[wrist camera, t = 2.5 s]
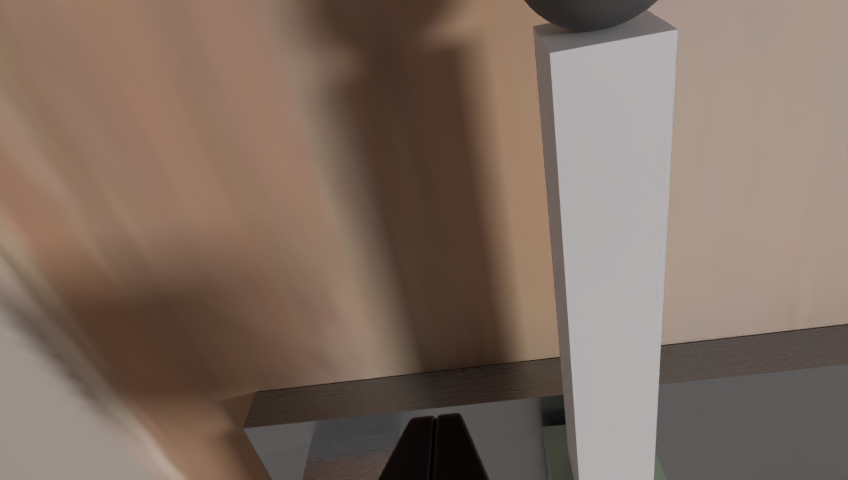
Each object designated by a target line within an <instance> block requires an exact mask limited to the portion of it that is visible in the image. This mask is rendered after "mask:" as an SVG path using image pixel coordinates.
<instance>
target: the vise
mask: <svg viewBox="0 0 848 480" xmlns="http://www.w3.org/2000/svg"><path fill="white" fill-rule="evenodd" d="M450 413H460V414H461V415H462V417H463V419H464V421H465V423H466V426H467V428H468V430H469V432H470V435H471V437H472V439H473V442H474V444H475V446H476V449H477V451H478V453H479V455H480V458H481V460H482V462H483V465H484V467H485V469H486V471H487V474H488V476H489V478H490V480H548V472H547V463H546V455H545V446H544V438H543V429H542V427H547V426H557V425H566V420H565V408H564V396H563V384H562V372H561V360H560V358H554V359H545V360H536V361H528V362H519V363H510V364H501V365H493V366H484V367H475V368H466V369H458V370H449V371H440V372H432V373H423V374H414V375H405V376H397V377H388V378H379V379H370V380H362V381H353V382H344V383H335V384H327V385H318V386H309V387H301V388H292V389H283V390H274V391H266V392H257V393H256V394H255V397H254V400H253V403H252V405H251V408H250V411H249V413H248V416H247V419H246V422H245V424H244V427H243V430H244V431H245V433H246V435H247V437H248V438H249V440H250V442H251V444H252V445H253V447H254V449H255V451H256V452H257V454H258V456H259V458H260V459H261V461H262V463H263V465H264V467H265V468H266V470H267V472H268V474H269V475H270V477H271V479H272V480H378V478H379V477H380V475H381V473H382V471H383V469H384V467H385V465H386V463H387V461H388V459H389V458H390V456H391V454H392V452H393V450H394V448H395V446H396V444H397V442H398V441H399V439H400V437H401V435H402V433H403V431H404V429H405V427H406V425H407V424H408V422H409V420H410V419H412V418H414V417H421V416H430V415H431V416H434V417H435V418H437V416H438V415H441V414H450ZM655 450H656V453H657V455H658V458H659V461H660V463H661V466H662V469H663V471H664V474H665V477H666V479H667V480H848V325H842V326H833V327H825V328H816V329H807V330H798V331H790V332H781V333H772V334H763V335H755V336H746V337H737V338H728V339H720V340H711V341H702V342H694V343H685V344H676V345H667V346H661V353H660V371H659V390H658V409H657V428H656V446H655Z"/></svg>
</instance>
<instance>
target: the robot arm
mask: <svg viewBox="0 0 848 480" xmlns="http://www.w3.org/2000/svg"><path fill="white" fill-rule="evenodd" d="M378 480H490V478H489V476H488V474H487V471H486V469H485V467H484V465H483V462H482V460H481V458H480V455H479V453H478V451H477V449H476V446H475V444H474V442H473V439H472V437H471V435H470V432H469V430H468V428H467V426H466V423H465V421H464V419H463V417H462V415H461V414H460V413H450V414H441V415H438V416H437V418H435V417H434V416H431V415H430V416H421V417H414V418H412V419H410V420H409V422H408V424H407V425H406V427H405V429H404V431H403V433H402V435H401V437H400V439H399V441H398V442H397V444H396V446H395V448H394V450H393V452H392V454H391V456H390V458H389V459H388V461H387V463H386V465H385V467H384V469H383V471H382V473H381V475H380V477H379V478H378Z"/></svg>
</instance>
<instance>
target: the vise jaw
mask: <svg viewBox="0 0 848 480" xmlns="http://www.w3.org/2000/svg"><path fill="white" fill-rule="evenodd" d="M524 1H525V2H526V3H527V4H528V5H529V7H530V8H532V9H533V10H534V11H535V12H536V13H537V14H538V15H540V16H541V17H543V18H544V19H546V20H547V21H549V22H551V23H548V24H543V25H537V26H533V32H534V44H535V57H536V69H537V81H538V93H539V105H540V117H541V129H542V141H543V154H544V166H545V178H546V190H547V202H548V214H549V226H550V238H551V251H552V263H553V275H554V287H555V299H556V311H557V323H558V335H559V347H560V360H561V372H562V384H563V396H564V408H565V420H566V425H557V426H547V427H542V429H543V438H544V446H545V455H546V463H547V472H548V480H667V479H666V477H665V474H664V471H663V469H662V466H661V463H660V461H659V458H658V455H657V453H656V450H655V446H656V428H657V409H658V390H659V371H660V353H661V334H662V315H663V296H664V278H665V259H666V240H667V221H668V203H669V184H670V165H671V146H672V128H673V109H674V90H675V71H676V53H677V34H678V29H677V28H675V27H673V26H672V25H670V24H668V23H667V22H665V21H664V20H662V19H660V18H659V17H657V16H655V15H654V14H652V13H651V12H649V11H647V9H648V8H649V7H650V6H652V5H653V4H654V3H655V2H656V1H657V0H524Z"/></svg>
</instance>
